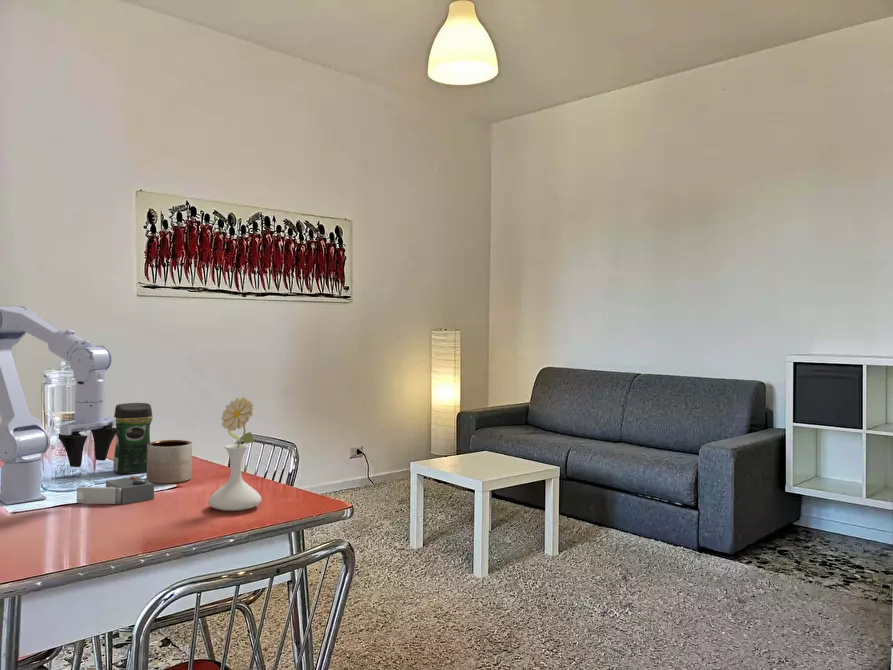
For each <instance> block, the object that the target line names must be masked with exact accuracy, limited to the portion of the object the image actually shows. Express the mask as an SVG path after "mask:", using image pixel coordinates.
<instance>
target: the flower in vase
mask: <svg viewBox="0 0 893 670" xmlns="http://www.w3.org/2000/svg"><path fill="white" fill-rule="evenodd" d="M253 407H254V404H253V403H252V401H250V400H249V399H248V398H246V397H245V396H242V397H241V398H238V397H236V398H235V400H231V401H230V404H226V406H225V409H224V410H223V412H222V417H221V421H222V423H221V426H222V428H223V427H224V429H227V433H228V435H230V436H231V437H232V438H234V439H236V440H237V441H239V442H238V443H236V444H235V443H233V444H227V445H225V446H224V449H226V451H227V453H228V455H229V462H230V476H229V479H228V480H227V481H226V483H224V484H223V485H222V486H221V487H220V488H218V489H217V490H216V491H214V493H213V494H212V495H211V496H209V499H208V501H207V503H208V504H209V506H210V507H211V508H214V509H215V510H218V511H219V510H220V511H233V512H235V511H243V510H244V511H245V510H248V509H253V508H254V507H256V506H258V505H259V504H261V502H262V500H263V499H262V497H261V495H260V493H259V492H258V491H257V490H255V489H254V488H253V487H252V486H250V485H249V484H248V483H247V482H245V481H244V479H243V477H242V464H243V463H242V461H243V457H244V454H245V452H246V450H248V447H249V445H248V444H251V443H255V439H254V437H253V436H254V435H253V434H252V433H253V432H251V431H249V432H247V433H246V427H245V426H246V424H247V422H249V421H250V418H251V417H252V416H253V411H254V408H253ZM242 428H243V434H242V436H241V438H240V436H238V435H237V434H235V433H233V432H232V431H236V430H237V429H238V430H240V429H242ZM242 441H243V444H241V443H242Z"/></svg>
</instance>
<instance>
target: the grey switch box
mask: <svg viewBox="0 0 893 670" xmlns="http://www.w3.org/2000/svg"><path fill="white" fill-rule="evenodd" d="M105 487H108V488H121V504H122V505H125V504H133V503H137V502H144V501H151V500H154V499H155V484H154V483H151V482H149V481H147V478H146V479H144V478H141V477H140V476H130V477H125V478H124V477H123V478H117V479H107V480H105ZM121 504H120V505H121Z"/></svg>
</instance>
